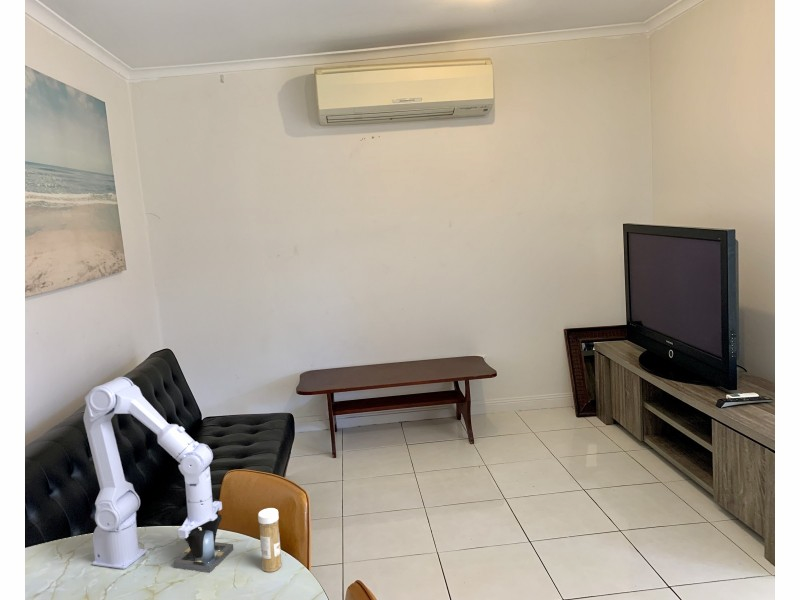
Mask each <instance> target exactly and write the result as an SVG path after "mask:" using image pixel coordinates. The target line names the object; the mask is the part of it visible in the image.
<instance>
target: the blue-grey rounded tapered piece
mask: <svg viewBox="0 0 800 600" xmlns="http://www.w3.org/2000/svg"><path fill="white" fill-rule="evenodd" d="M215 553H216V551H215V550H214V539H213V532H212V531H209V530H206V532H205V535H204V540H203V556H202V557H201V558H194V559H195V561H196V562H204V563H208V562H210V561H211V560H212V559H213V558H214V557H215V555H216V554H215Z"/></svg>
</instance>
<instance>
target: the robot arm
mask: <svg viewBox="0 0 800 600" xmlns="http://www.w3.org/2000/svg"><path fill="white" fill-rule="evenodd" d="M84 401H85V404H86V405H85V409H84V413H83V416H82V417H83V423H84V428H85V432H86V434H87V435H86V436H87V439H88V443H89V448H90V452H91V455H92V456H91V457H92V460H93V464H94V469H95V474H96V477H97V482H98V485H99V489H100V490H99V493H98V495H97V497H96V500H95V502H94V506H95V514H94V521H95V523H96V525H97V526H96V527H95V528H94V531H93V534H92V544H93V555H94V560H93V562H92V563H91V564H92V565H93V566H99V567H105V568H114V569H119V570H120V569H121V570H125V569H127V568H128V567H129V566H130V565H132V564H133V563H134V562H135V561H137V560H138V559H139V558H141V557H142V556H143V555H145V554H146V553H147V552H148V549H146V548H139V540H138V539H139V538H138V529H137V511H139V508H140V506H141V499H140V495H138V493H137V492H136V491H135V488H134V485H133V483H132V482H128V481H127V480H126V477H125V474H124V470H123V466H122V461H121V457H120V452H119V449H118V444H117V439H116V436H115V431H114V427H113V424H112V418H113V417H114V416H115V414H116V415H118V414H120V415H121V414H126V415H127V414H129V415H132V416H133V417H134V418H136V419H137V420H138V421H139V422H141V423H142V424H143V425H144V426H146V428H148V429H150V431H152V432H153V433H154V434H155V435H156V436H157V444H158V445H160V447H162V448H163V449H164V451H166V453H168V454H169V455H170V456H172V458H173V459H175V461H177V462H178V470H179V471H180V473H181V474H182V475H183V477H184V482H185V483H184V484H185V496H186V509H187V510H186V511H187V517H186V518H185V520H184V522H182V523H183V524H182V525H180V527H179V528H178V529H177V533H178V538H179V539H184V540H185V542H186V543H187V546H188V548H190V550H191V552H192V555H193V556H192V558H194V559H195V558H201V557H202V556H203V540H204V535H205V532H206V530H209V531H212V532H213V539H214V544H215V542H216V539H217V538H216V537H217V532H218V529H219V526H220V524H221V521H222V519H223V518H222V517H223V516H222V514H219V513H218V512H220V511H221V510H222V509H223V504H222V503H223V502H222V501H219V500H214V501H213V492H212V480H211V479H212V478H211V468H210V464H211V463H212V461H213V458H214V454H213V451H212V449H211V448H210V447H209V445H208V444H207V443H206V444H205V443H199V442H198V441H195V440H194V439H193V438H192V437H191V436H190V435H189V434H188V433H187V432H186V431H185V430H186V429H185V428H184V427H183V425H182V426H179V424H177V423H171V424H170V423H168V422H167V420H166V419H165V418H164V417H163V416H162V415H161V414H160V413H159V412H158V411H157V410H156V409H155V408H154V407H153V405H152V404H151V403H150V402H149V401H148V400H147V399H146V398H145V396H143V393H142V391H141V389H140V387H139V386H137V385H136V384H135V383H134V382H133V381H132V380H131V379H130V378H128V377H125V376H118V377H116V378H114V379H112V380H110V381H108V382H105V383H103V384H101V385H98V386H97V385H96V386H95V387H92V389H91V390H89V392H88V393H87V394H86V396H84ZM199 527H200V528H201V529H200V528H199Z"/></svg>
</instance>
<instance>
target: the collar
mask: <svg viewBox="0 0 800 600" xmlns="http://www.w3.org/2000/svg"><path fill="white" fill-rule="evenodd" d="M234 549H235V548H234V544H233V543H226V542H219V541H215V544H214V550H220V551H218V552H217V553H216V554H215V557H214V558H213V559H212V560H211V561H210V562H209V563H204V562H196V560H195V561H193V560H190V559H191V558H193V555H192V552H191V550H190V547H187V549H185V550H184V552H183V553H182V554H180V555H179V556H178V557H177V558H176V559H174V561H173V565H172V566H173V569H178V570H179V569H180V570H186V569H187V570H186V571H193V570H195V572H203V573H210V572H211V573H212V572H213V571H214V570H215V569H216V568H217V567H218V566H219V565H220V564H221V563H223V561H224V560H225V559H226V558H227V557H228V556H229V555H230V554H232V552H233V551H235V550H234ZM216 566H217V567H216ZM215 567H216V568H215Z"/></svg>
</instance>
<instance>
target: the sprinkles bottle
mask: <svg viewBox="0 0 800 600" xmlns="http://www.w3.org/2000/svg"><path fill="white" fill-rule="evenodd" d="M279 518H280V516H279V510H278V509H276V508H274V507H268V508H264V509H262V510H260V511H259V512H258V515H257V519H258V524H259V537H260V538H259V539H260V541H259V542H260V551H261V552H260V553H261V559H262V560H261V561H262V566H261V568H262V570H263V571H265V572H267V573H271V572H272V573H273V572H276V571H278V570H279V569H281V567H282V566H283V562H282V555H281V551H282V550H281V541H280V540H281V539H280V532H279V531H280V528H279Z"/></svg>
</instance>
